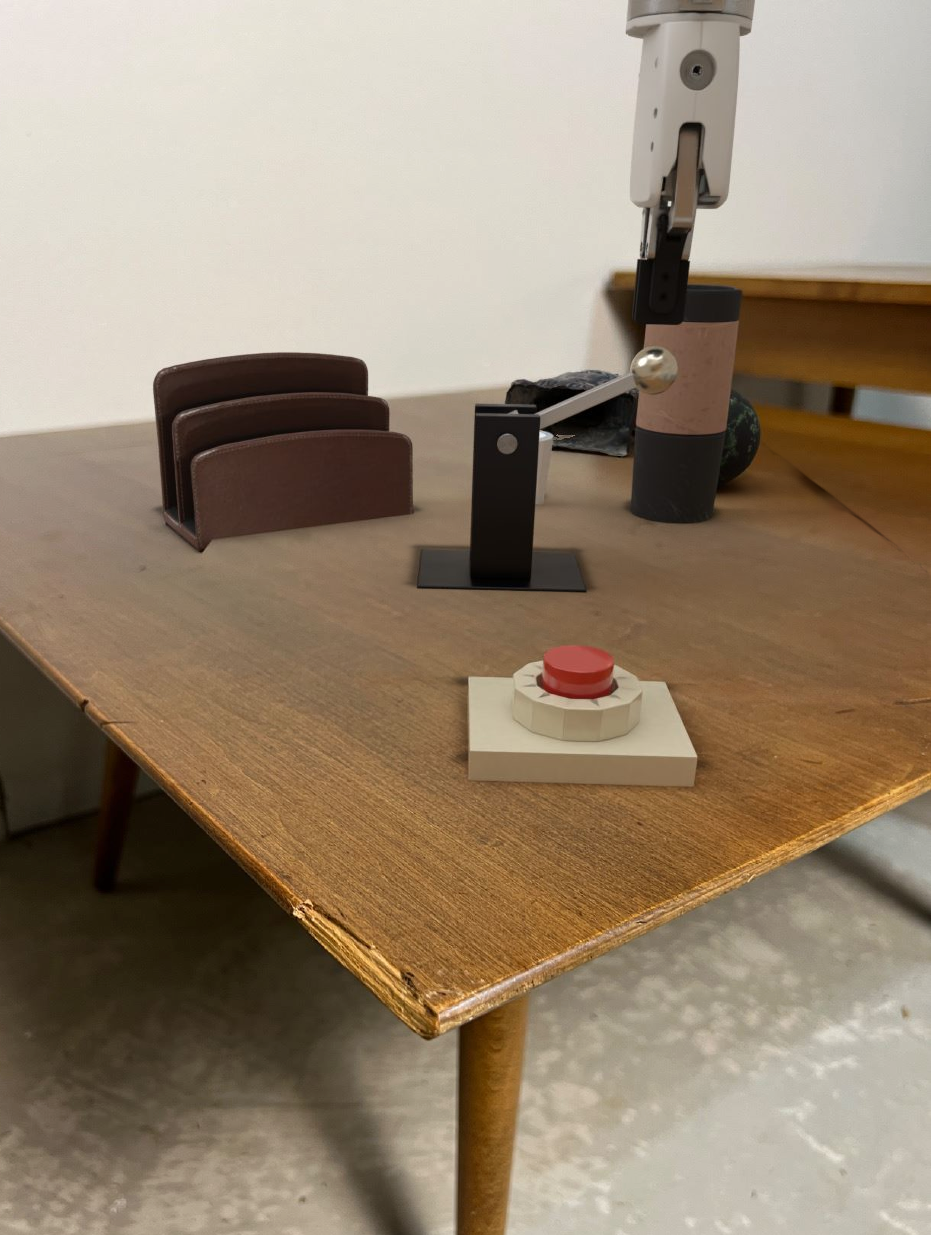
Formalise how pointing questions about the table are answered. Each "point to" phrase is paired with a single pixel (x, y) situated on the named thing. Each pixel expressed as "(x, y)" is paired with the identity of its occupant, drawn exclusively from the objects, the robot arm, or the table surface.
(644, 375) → the lever
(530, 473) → the bracket
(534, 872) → the table surface
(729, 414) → the decorative stone
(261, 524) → the letter holder
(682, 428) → the travel mug
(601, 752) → the button block
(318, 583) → the table surface
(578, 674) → the button
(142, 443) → the table surface
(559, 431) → the sculpture
